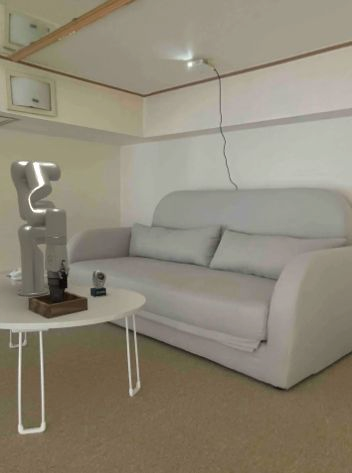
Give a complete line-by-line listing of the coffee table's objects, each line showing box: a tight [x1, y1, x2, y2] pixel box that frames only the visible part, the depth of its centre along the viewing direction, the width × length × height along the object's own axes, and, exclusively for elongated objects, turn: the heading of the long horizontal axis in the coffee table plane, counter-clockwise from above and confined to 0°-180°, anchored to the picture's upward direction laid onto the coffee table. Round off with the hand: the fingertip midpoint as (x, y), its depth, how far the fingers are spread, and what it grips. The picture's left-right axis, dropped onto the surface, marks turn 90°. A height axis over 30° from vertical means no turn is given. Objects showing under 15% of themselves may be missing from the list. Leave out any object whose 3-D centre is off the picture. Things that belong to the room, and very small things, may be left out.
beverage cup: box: [46, 271, 66, 304], centre depth 142 cm, size 7×7×20 cm
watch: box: [89, 269, 107, 298], centre depth 166 cm, size 6×8×11 cm
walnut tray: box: [28, 290, 89, 319], centre depth 143 cm, size 16×16×4 cm
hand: (57, 286), depth 142 cm, fingers open, 8 cm apart
